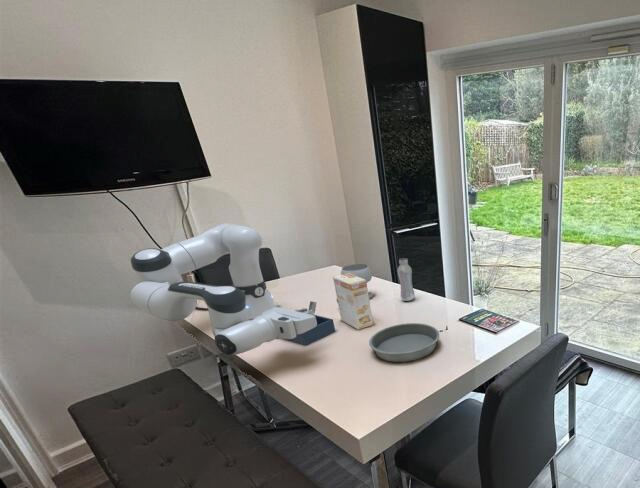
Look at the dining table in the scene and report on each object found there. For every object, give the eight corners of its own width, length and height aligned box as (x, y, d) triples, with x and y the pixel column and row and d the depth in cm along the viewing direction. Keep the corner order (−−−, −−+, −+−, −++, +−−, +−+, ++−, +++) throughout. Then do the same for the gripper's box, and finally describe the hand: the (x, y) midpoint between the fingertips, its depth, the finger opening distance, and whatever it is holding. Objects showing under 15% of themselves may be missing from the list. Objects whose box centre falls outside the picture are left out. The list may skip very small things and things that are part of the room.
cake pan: (383, 333, 160) (382, 322, 158) (445, 333, 159) (444, 322, 158) (360, 364, 138) (358, 352, 136) (432, 365, 137) (431, 353, 135)
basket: (282, 338, 157) (278, 325, 155) (312, 325, 168) (309, 313, 166) (305, 345, 151) (302, 332, 149) (335, 331, 162) (332, 319, 160)
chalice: (347, 304, 189) (341, 273, 183) (342, 295, 201) (337, 266, 195) (378, 298, 196) (373, 268, 190) (371, 290, 207) (367, 261, 201)
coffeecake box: (374, 324, 168) (366, 279, 160) (357, 330, 163) (349, 283, 155) (356, 315, 177) (348, 272, 169) (340, 320, 172) (331, 276, 165)
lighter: (303, 328, 142) (298, 307, 139) (300, 327, 143) (295, 306, 140) (320, 321, 148) (316, 300, 145) (317, 320, 149) (313, 299, 146)
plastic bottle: (418, 299, 195) (413, 258, 187) (407, 303, 189) (402, 261, 181) (408, 296, 198) (403, 256, 190) (398, 301, 193) (392, 259, 185)
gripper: (255, 328, 138) (291, 314, 150) (295, 340, 130) (330, 324, 141) (250, 311, 136) (287, 298, 147) (291, 322, 127) (327, 307, 139)
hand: (309, 310), depth 144 cm, fingers closed on lighter, 2 cm apart
